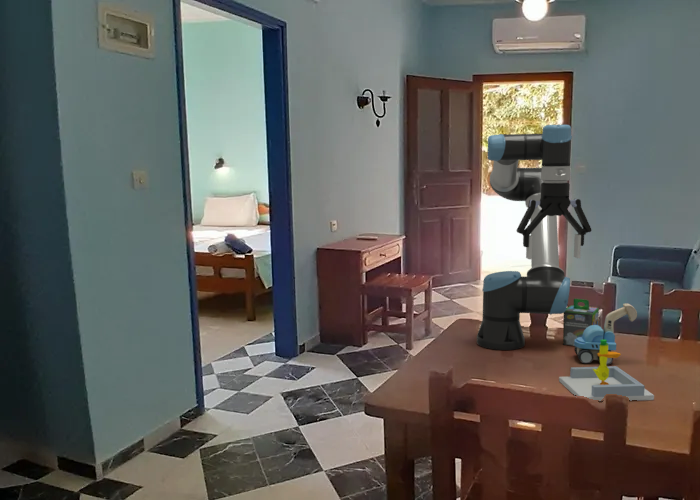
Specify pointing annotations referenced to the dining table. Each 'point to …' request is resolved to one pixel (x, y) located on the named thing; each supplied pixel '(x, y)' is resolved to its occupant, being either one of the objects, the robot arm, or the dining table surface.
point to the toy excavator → (601, 336)
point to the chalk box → (578, 320)
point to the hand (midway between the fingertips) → (553, 258)
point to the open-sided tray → (589, 386)
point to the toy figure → (604, 361)
